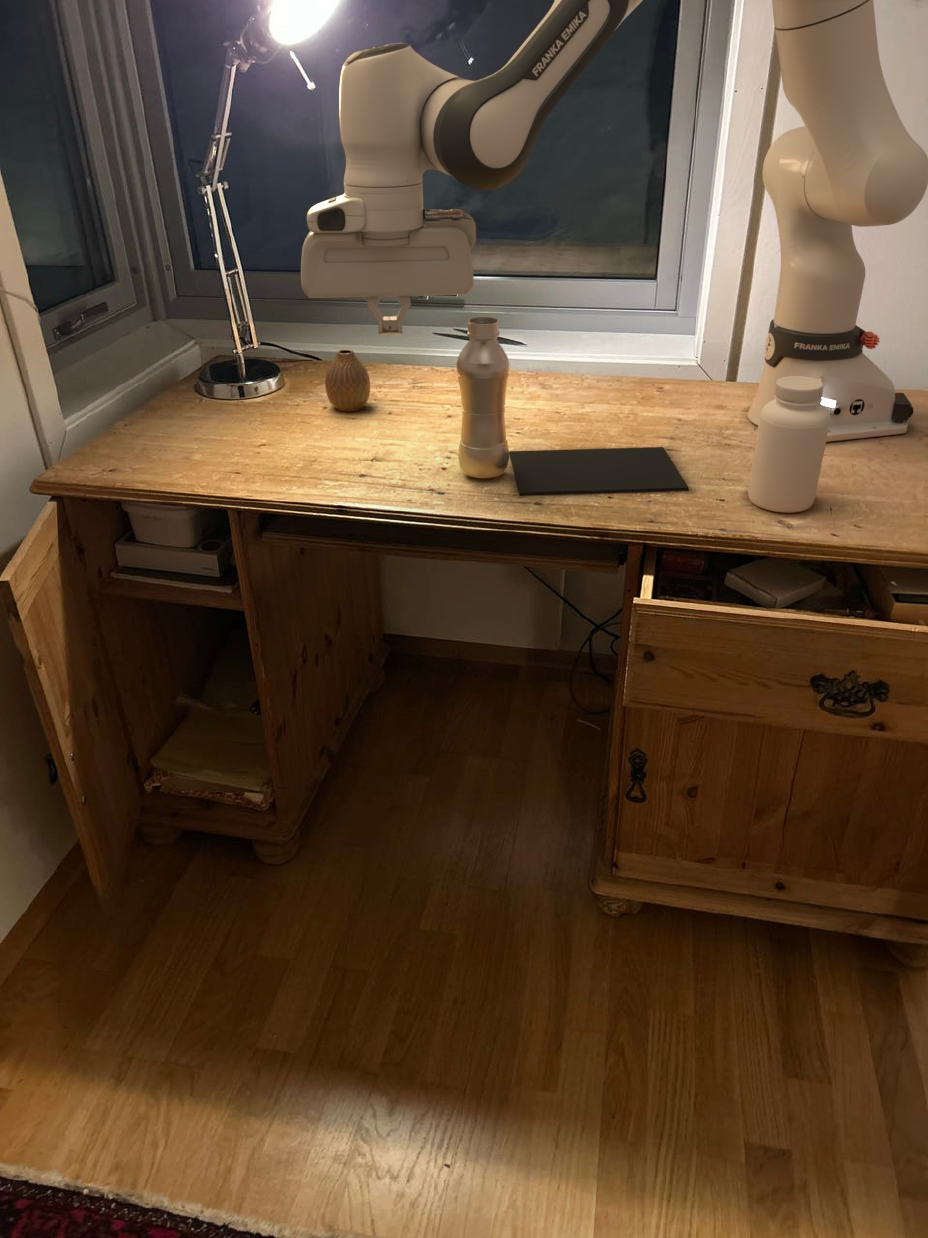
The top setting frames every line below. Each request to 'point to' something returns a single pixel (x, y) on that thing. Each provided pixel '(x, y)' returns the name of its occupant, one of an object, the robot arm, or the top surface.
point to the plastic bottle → (483, 400)
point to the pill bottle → (789, 446)
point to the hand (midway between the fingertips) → (390, 332)
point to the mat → (595, 471)
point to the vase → (347, 382)
